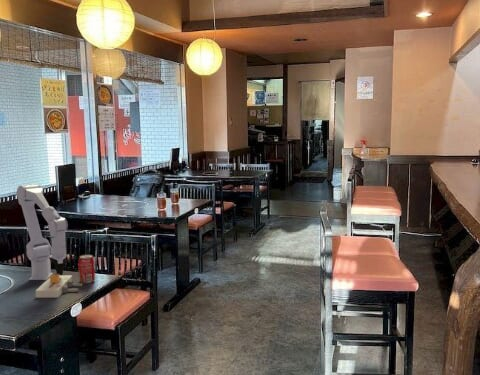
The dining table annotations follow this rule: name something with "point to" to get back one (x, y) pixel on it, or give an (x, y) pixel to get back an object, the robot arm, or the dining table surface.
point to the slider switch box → (53, 287)
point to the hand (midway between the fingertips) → (59, 275)
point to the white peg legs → (71, 284)
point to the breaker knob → (54, 278)
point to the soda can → (86, 269)
